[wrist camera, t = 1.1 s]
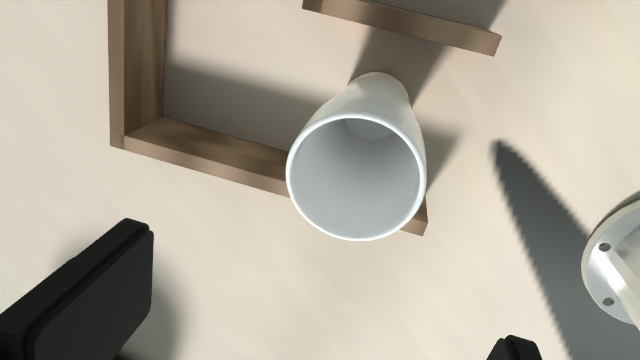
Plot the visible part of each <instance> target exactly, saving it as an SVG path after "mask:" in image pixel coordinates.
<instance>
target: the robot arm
mask: <svg viewBox="0 0 640 360" xmlns="http://www.w3.org/2000/svg"><path fill="white" fill-rule="evenodd" d="M153 242H154V233H153V232H152V231H150V230H149V226H148V225H147V224H146V223H142V222H139V221H136V220H132V219H129V218H125V219H123V220H122V221H120V222H119V223H118V224H116V225H115V226H114V227H113V228H111V229H110V230H109V231H108V232H106V233H105V234H104V235H103V236H101V237H100V238H99V239H98V240H96V241H95V242H94V243H92V244H91V245H90V246H89V247H87V248H86V249H85V250H84V251H82V252H81V253H80V254H79V255H77V256H76V257H74V258H72V259H70V260H69V261H67V262H66V263H65V264H64V265H62V266H61V267H60V268H59V269H57V270H56V271H55V272H53V273H52V274H51V275H50V276H48V277H47V278H46V279H45V280H43V281H42V282H41V283H39V284H38V285H37V286H36V287H34V288H33V289H32V290H31V291H29V292H28V293H27V294H25V295H24V296H23V297H22V298H20V299H19V300H18V301H17V302H15V303H14V304H13V305H11V306H10V307H9V308H8V309H6V310H5V311H4V312H3V313H1V314H0V360H112V359H113V358H114V356H115V355H116V354H117V353H118V351H119V350H120V349H121V348H122V346H123V345H124V344H125V343H126V341H127V340H128V339H129V338H130V336H131V335H132V334H133V333H134V331H135V330H136V329H137V328H138V327H139V325H140V324H141V323H142V322H143V320H144V319H145V318H146V316H147V314H148V313H149V310H150V307H151V292H152V267H153ZM581 270H582V278H583V280H584V283H585V286H586V288H587V290H588V291H589V293H590V295H591V296H592V298H593V300H594V301H595V302H596V303H597V304H598V305H599V306H600V307H601V308H602V309H603V310H605V311H606V312H607V313H609V314H610V315H611V316H613V317H615V318H617V319H620V320H622V321H624V322H627V323H630V324H634V325H636V326H637V328H638V329H639V331H640V200H637V201H635V202H633V203H631V204H629V205H627V206H625V207H624V208H622V209H620V210H619V211H617V212H616V213H614V214H613V215H612V216H610V217H609V218H607V219H606V220H605V221H604V222H603V223H602V224H601V225H600V226H599V227H598V228H597V229H596V231H595V232H594V234H593V235H592V236H591V238H590V239H589V241H588V243H587V245H586V248H585V250H584V252H583V257H582V263H581ZM487 360H542V358H541V355H540V352H539V350H538V347H537V345H536V343H534V342H533V341H530V340H526V339H523V338H520V337H517V336H513V335H508V336H507V337H506V338H505V339H503V338H500V339H499V340H498V341H497V342H496V344H495V346H494V348H493V349H492V351H491V353H490V354H489V356H488V358H487Z"/></svg>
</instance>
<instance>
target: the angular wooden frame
mask: <svg viewBox="0 0 640 360" xmlns="http://www.w3.org/2000/svg"><path fill="white" fill-rule="evenodd" d="M302 9H305V10H309V11H313V12H317V13H321V14H325V15H329V16H333V17H337V18H341V19H345V20H349V21H353V22H357V23H361V24H365V25H369V26H373V27H377V28H381V29H385V30H389V31H393V32H397V33H401V34H405V35H409V36H413V37H417V38H422V39H426V40H430V41H434V42H438V43H442V44H446V45H450V46H454V47H458V48H462V49H466V50H470V51H474V52H478V53H482V54H486V55H490V56H495V53H496V50H497V48H498V45H499V43H500V40H501V38H502V36H501V35H499V34H496V33H494V32H492V31H489V30H487V29H483V28H479V27H475V26H471V25H467V24H463V23H459V22H455V21H451V20H446V19H442V18H438V17H434V16H430V15H426V14H422V13H418V12H414V11H410V10H406V9H401V8H397V7H393V6H389V5H385V4H381V3H377V2H373V1H369V0H303V5H302ZM166 19H167V0H108V55H109V110H110V146H113V147H116V148H120V149H123V150H127V151H130V152H134V153H137V154H140V155H144V156H147V157H151V158H154V159H158V160H161V161H165V162H168V163H171V164H175V165H178V166H182V167H185V168H189V169H192V170H196V171H199V172H202V173H206V174H209V175H213V176H216V177H220V178H223V179H227V180H230V181H234V182H237V183H240V184H244V185H247V186H251V187H254V188H258V189H261V190H265V191H268V192H271V193H275V194H278V195H282V196H285V197H289V198H291V197H290V194H289V192H288V188H287V183H286V163H287V158H288V154H289V152H286V151H282V150H279V149H275V148H272V147H268V146H264V145H261V144H257V143H254V142H250V141H247V140H243V139H239V138H236V137H232V136H229V135H225V134H222V133H218V132H214V131H211V130H207V129H204V128H200V127H197V126H193V125H190V124H186V123H182V122H179V121H175V120H172V119H168V118H165V117H162V113H163V90H164V66H165V43H166ZM427 224H428V218H427V208H426V197H425V195H424V198H423V201H422V203H421V205H420V207H419V209H418V210H417V212H416V213H415V215H414V216H413V217H412V218H411V219H410V221H409V222H408V223H406V224H405V225H404V226H403V227H401V228H400V229H399V230H403V231H406V232H409V233H413V234H416V235H420V236H423V234H424V232H425V229H426V227H427Z"/></svg>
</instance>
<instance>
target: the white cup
mask: <svg viewBox="0 0 640 360" xmlns="http://www.w3.org/2000/svg"><path fill="white" fill-rule="evenodd" d="M426 182H427V160H426V150H425V144H424V139H423V135H422V132H421V129H420V126H419V123H418V121H417V119H416V117H415V114H414V112H413V110H412V107H411V105H410V101H409V96H408V93H407V91H406V89H405V87H404V86H403V85H402V84H401V82H400V81H398V80H397V79H396V78H395V77H393V76H391V75H389V74H386V73H382V72H369V73H365V74H363V75H360V76H358V77H357V78H355V79H354V80H353V81H352V82H351V83H350V84H349V85H348V86H347V87H346V88H345V89H343V90H342V91H340V92H339V93H338V94H336V95H335V96H333V97H332V98H331V99H329V100H328V101H327V102H326V103H324V104H323V105H322V106H321V107H320V108H319V109H318V110H317V111H316V112H315V113H314V114H313V115H312V116H311V118H310V119H309V120H308V121H307V123H306V124H305V126H304V127H303V129H302V130H301V132H300V133H299V135H298V137H297V138H296V140H295V142H294V143H293V145H292V147H291V149H290V152H289V154H288V158H287V163H286V183H287V188H288V192H289V194H290V197H291V199H292V201H293V203H294V205H295V206H296V208H297V210H298V211H299V212H300V214H301V215H302V216H303V217H304V218H305V219H306V220H307V221H308V222H309V223H311V224H312V225H313V226H314V227H316V228H317V229H319V230H321V231H322V232H324V233H326V234H329V235H331V236H334V237H337V238H340V239H345V240H351V241H368V240H374V239H378V238H382V237H385V236H387V235H390V234H392V233H394V232H395V231H397V230H399V229H400V228H401V227H403V226H404V225H405V224H406V223H408V222H409V221H410V219H411V218H412V217H413V216H414V215H415V213H416V212H417V210H418V209H419V207H420V205H421V203H422V201H423V198H424V195H425V190H426Z"/></svg>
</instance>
